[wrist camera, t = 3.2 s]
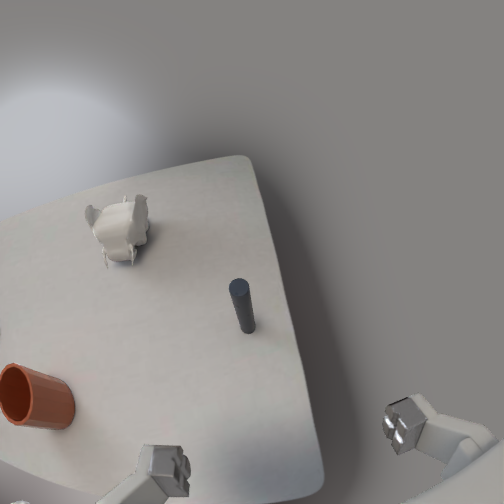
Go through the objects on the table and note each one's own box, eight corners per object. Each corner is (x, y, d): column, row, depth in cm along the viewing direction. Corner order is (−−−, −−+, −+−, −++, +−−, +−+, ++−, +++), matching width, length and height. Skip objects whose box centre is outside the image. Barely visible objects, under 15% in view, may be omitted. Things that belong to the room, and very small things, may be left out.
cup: (83, 413, 28) (41, 406, 21) (53, 438, 26) (12, 435, 18) (58, 368, 32) (19, 351, 24) (31, 394, 29) (-9, 382, 21)
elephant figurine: (101, 278, 40) (71, 247, 32) (112, 219, 46) (91, 184, 39) (155, 272, 40) (131, 238, 32) (161, 210, 46) (144, 172, 39)
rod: (258, 326, 35) (253, 286, 25) (248, 336, 34) (238, 300, 24) (248, 317, 36) (239, 274, 25) (238, 327, 35) (224, 287, 25)
